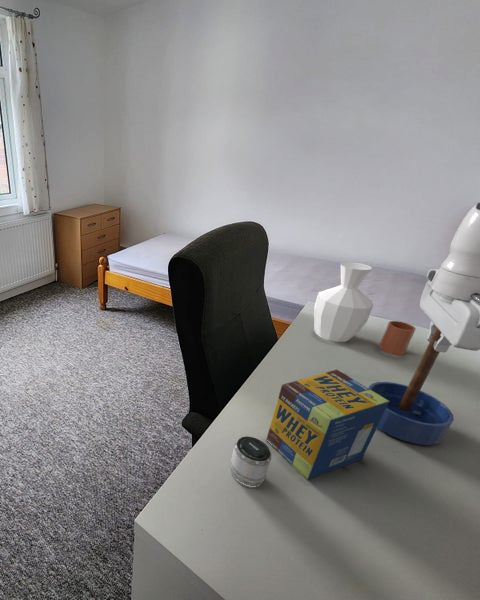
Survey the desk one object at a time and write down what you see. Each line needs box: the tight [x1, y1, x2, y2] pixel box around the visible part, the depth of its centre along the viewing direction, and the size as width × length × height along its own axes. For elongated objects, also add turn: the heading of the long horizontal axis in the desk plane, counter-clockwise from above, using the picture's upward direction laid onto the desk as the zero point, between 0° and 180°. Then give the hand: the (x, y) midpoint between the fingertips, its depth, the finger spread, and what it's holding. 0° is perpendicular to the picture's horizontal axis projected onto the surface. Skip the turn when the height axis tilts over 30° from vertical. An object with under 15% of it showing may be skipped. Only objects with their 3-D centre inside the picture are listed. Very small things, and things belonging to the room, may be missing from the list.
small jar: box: [230, 436, 272, 489], centre depth 65 cm, size 6×6×8 cm
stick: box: [398, 328, 441, 412], centre depth 74 cm, size 2×2×22 cm
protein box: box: [265, 369, 390, 480], centre depth 68 cm, size 10×15×16 cm
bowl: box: [367, 381, 455, 446], centre depth 77 cm, size 14×14×6 cm
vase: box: [313, 261, 374, 343], centre depth 107 cm, size 14×14×25 cm
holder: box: [378, 320, 417, 356], centre depth 102 cm, size 6×6×9 cm
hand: (435, 346), depth 71 cm, fingers closed on stick, 2 cm apart
